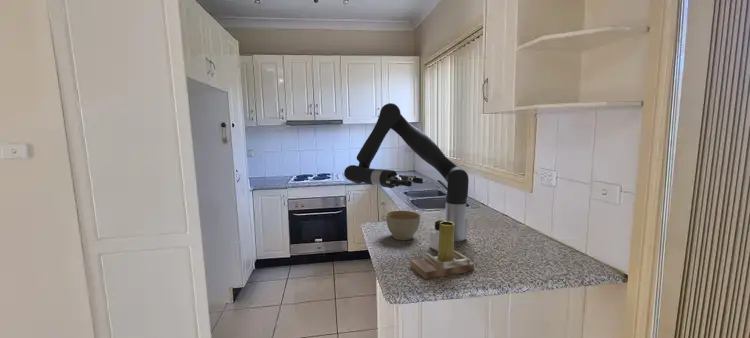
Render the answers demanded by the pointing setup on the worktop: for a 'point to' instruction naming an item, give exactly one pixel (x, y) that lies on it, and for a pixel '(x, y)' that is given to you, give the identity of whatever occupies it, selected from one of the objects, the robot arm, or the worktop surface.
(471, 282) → the worktop surface
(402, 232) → the planter bowl
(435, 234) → the medicine bottle
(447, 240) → the vase
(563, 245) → the worktop surface
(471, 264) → the dock
